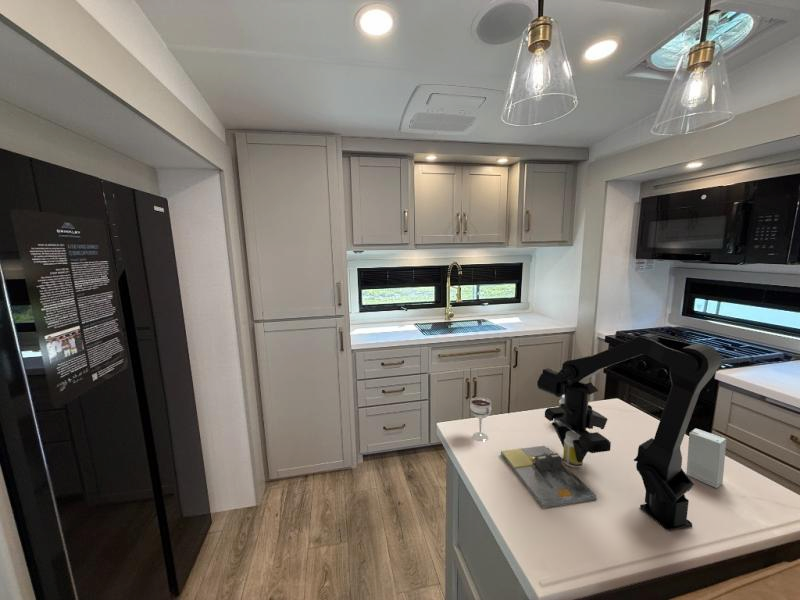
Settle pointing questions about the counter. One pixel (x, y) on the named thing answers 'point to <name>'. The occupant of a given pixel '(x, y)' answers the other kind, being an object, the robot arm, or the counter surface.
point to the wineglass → (480, 414)
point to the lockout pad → (517, 458)
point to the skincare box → (706, 457)
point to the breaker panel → (551, 481)
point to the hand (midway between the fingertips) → (572, 455)
